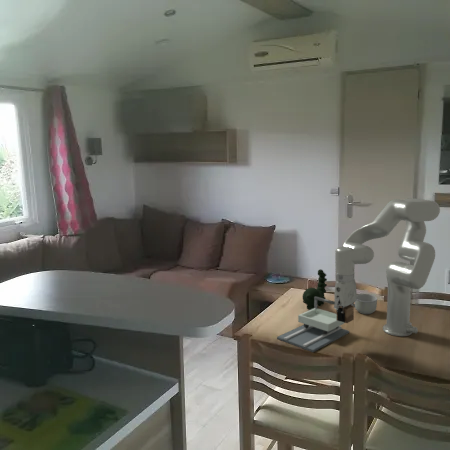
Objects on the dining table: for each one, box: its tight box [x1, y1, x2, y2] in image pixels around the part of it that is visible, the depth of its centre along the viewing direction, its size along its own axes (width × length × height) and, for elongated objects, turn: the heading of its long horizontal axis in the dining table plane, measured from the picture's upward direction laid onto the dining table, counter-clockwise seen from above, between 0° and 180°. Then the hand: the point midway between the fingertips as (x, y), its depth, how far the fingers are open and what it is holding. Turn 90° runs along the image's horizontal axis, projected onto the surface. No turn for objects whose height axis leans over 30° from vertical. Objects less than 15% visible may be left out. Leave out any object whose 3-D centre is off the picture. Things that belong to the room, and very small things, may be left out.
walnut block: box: [335, 305, 355, 324], centre depth 197 cm, size 5×5×6 cm
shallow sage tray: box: [297, 296, 345, 334], centre depth 212 cm, size 16×13×11 cm
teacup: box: [353, 293, 378, 315], centre depth 237 cm, size 14×11×8 cm
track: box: [276, 324, 350, 353], centre depth 210 cm, size 19×27×2 cm
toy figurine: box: [302, 269, 328, 311], centre depth 245 cm, size 9×19×25 cm
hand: (345, 318), depth 197 cm, fingers closed on walnut block, 5 cm apart
